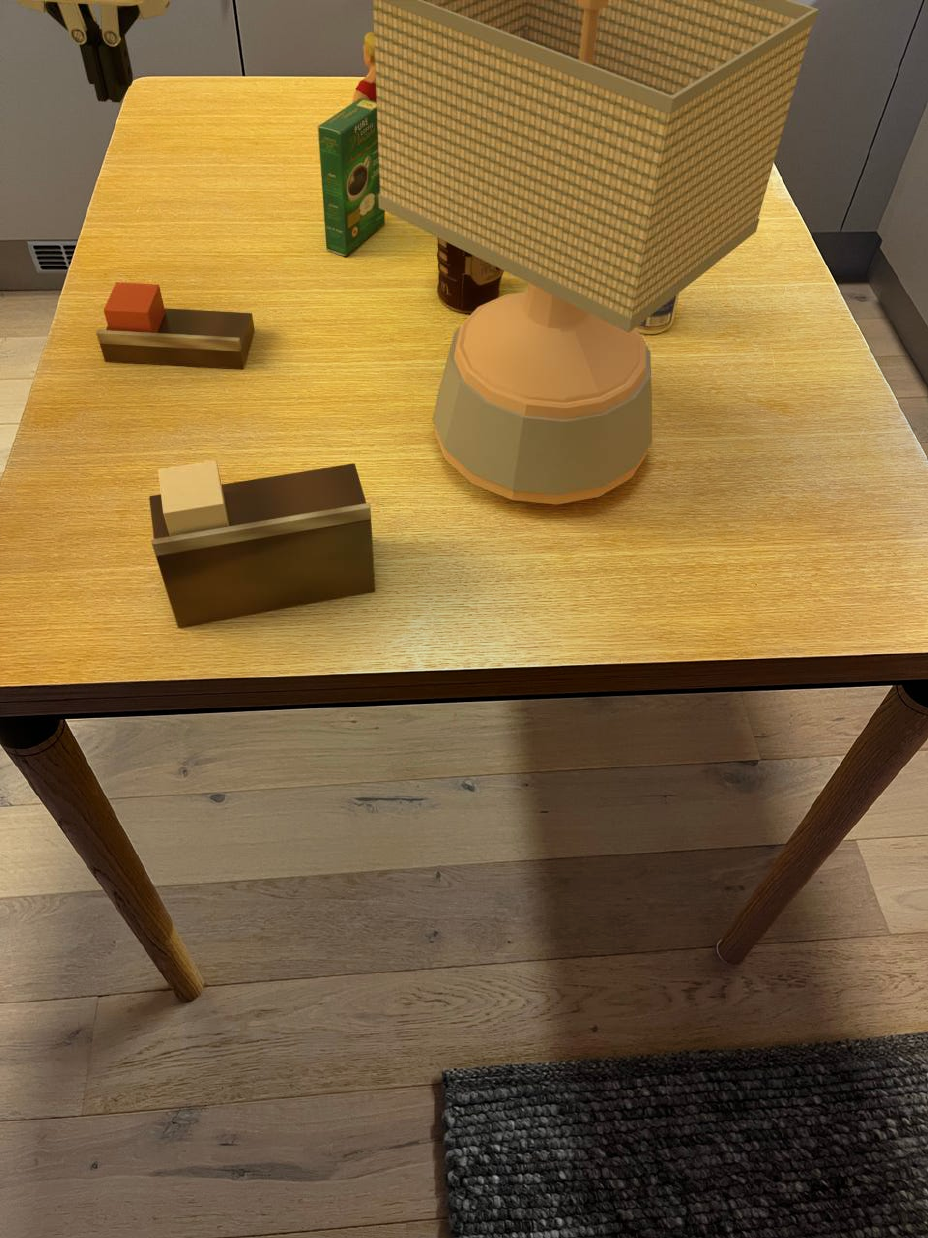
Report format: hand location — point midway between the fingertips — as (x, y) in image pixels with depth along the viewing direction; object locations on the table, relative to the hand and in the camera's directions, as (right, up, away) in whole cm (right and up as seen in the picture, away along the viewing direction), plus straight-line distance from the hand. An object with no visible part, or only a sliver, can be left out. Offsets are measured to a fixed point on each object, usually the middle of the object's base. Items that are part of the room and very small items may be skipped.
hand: (114, 93), depth 77 cm
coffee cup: (+27, -8, +25) cm, 38 cm away
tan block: (+8, -33, -6) cm, 35 cm away
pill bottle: (+45, -10, +24) cm, 52 cm away
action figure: (+17, +12, +40) cm, 45 cm away
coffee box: (+15, +1, +31) cm, 35 cm away
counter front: (+12, -37, +1) cm, 39 cm away
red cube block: (-4, -13, +17) cm, 22 cm away
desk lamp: (+34, -25, +12) cm, 43 cm away
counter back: (0, -14, +19) cm, 23 cm away
